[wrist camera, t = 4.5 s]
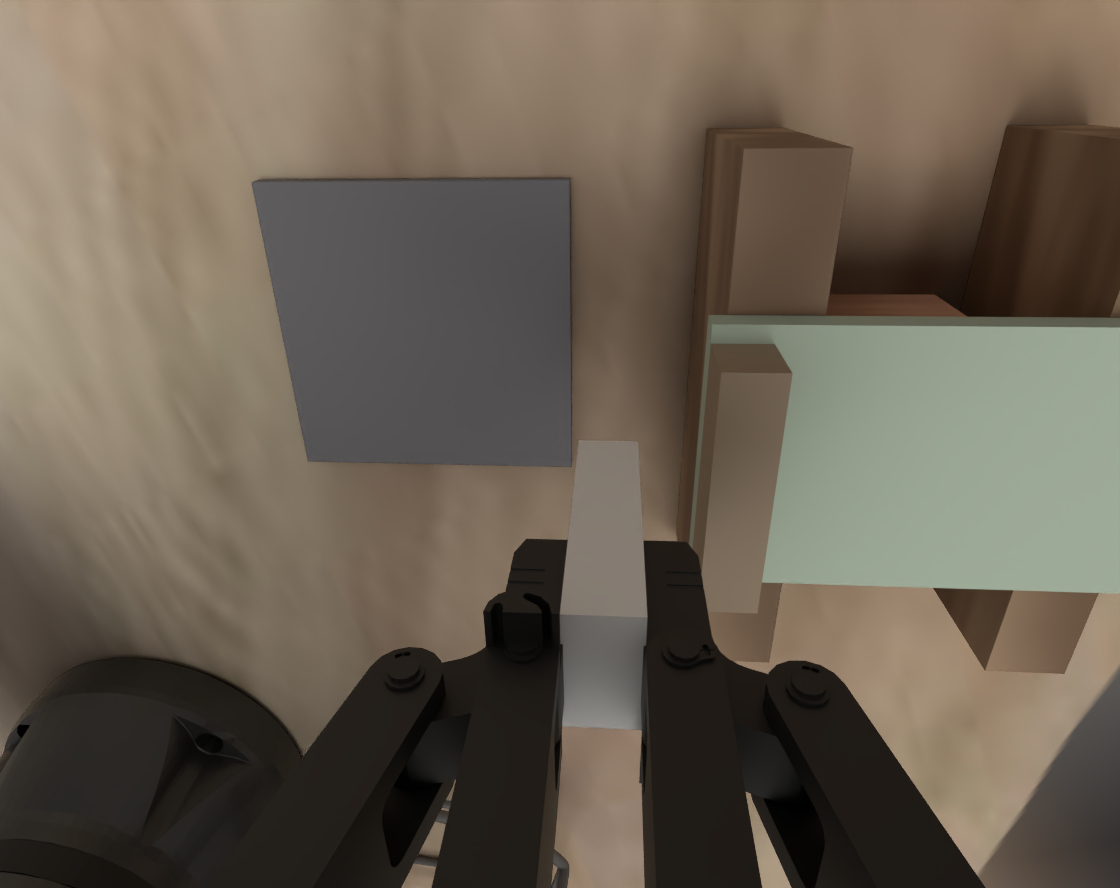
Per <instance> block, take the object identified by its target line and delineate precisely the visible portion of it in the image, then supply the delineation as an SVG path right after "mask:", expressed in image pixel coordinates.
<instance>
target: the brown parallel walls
mask: <svg viewBox="0 0 1120 888" xmlns="http://www.w3.org/2000/svg"><path fill="white" fill-rule="evenodd" d="M852 152H853V148H852V147H849V146H845V145H842V144H838V143H835V142H831V141H828V140H824V139H821V138H817V137H814V136H810V135H807V134H803V133H800V132H796V131H793V130H789V129H786V128H734V129H707V132H706V145H705V159H704V172H703V185H702V199H701V212H700V225H699V239H698V252H697V266H696V279H695V292H694V306H693V319H692V332H691V346H690V359H689V373H688V386H687V399H686V413H685V426H684V439H683V453H682V466H681V480H680V493H679V506H678V520H677V540H678V542H687V543H688V544H689V539H690V527H691V515H692V503H693V492H694V480H695V468H696V457H697V445H698V433H699V421H700V410H701V398H702V386H703V375H704V363H705V351H706V339H707V328H708V316H709V315H780V316H826V311H827V305H828V299H829V293H830V287H831V281H832V275H833V268H834V262H835V256H836V250H837V244H838V238H839V232H840V226H841V220H842V213H843V207H844V201H845V195H846V189H847V183H848V177H849V171H850V165H851V158H852ZM960 312H961V313H963V314H964V315H966V316H967V317H1075V318H1120V128H1117V127H1107V126H1096V125H1021V126H1007V128H1006V132H1005V136H1004V140H1003V144H1002V148H1001V152H1000V156H999V160H998V164H997V168H996V172H995V175H994V179H993V183H992V187H991V191H990V195H989V199H988V203H987V207H986V211H985V215H984V219H983V223H982V227H981V231H980V235H979V239H978V243H977V247H976V251H975V255H974V259H973V263H972V267H971V270H970V274H969V278H968V282H967V286H966V290H965V294H964V298H963V302H962V306H961V310H960ZM781 586H782V583H764V582H762V585H761V592H760V599H759V606H758V613H728V612H708V616H709V622H710V627H711V633H712V638H713V640H714V643H715V644H716V645H717V647H718V649H719V651H720V652H721V653H722V654H723V655H725V656H726V657H727V658H728V659H730V660H731V661H748V662H769V660H770V654H771V647H772V641H773V635H774V629H775V623H776V617H777V611H778V605H779V599H780V592H781ZM934 590H935V592H936V593H937V595H938V596H939V598H940V600H941V601H942V603H943V604H944V606H945V608H946V609H947V611H948V612H949V614H950V616H951V617H952V619H953V620H954V622H955V624H956V625H957V627H958V628H959V630H960V631H961V633H962V635H963V636H964V638H965V639H966V641H967V643H968V644H969V646H970V647H971V649H972V651H973V652H974V654H975V655H976V657H977V659H978V660H979V662H980V663H981V665H982V667H983V668H984V670H985V671H1006V672H1032V673H1058V674H1064V673H1065V671H1066V669H1067V666H1068V664H1069V662H1070V659H1071V657H1072V655H1073V652H1074V650H1075V648H1076V645H1077V643H1078V640H1079V638H1080V636H1081V633H1082V631H1083V629H1084V626H1085V624H1086V622H1087V619H1088V617H1089V615H1090V612H1091V610H1092V607H1093V605H1094V603H1095V600H1096V598H1097V596H1098V593H1083V592H1051V591H1019V590H987V589H955V588H934Z"/></svg>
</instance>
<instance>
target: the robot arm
mask: <svg viewBox="0 0 1120 888" xmlns="http://www.w3.org/2000/svg"><path fill="white" fill-rule="evenodd" d="M483 614H484V625H485V637H486V647H485V648H484V649H482V650H481V651H479V652H477V653H475V654H473V655H471V656H468V657H465V658H462V659H458V660H453V661H448V662H444V663H441V660H440V659H439V658H438V657H437V656H436V655H435V654H434V653H433V652H430V651H428V650H426V649H423V648H413V647H407V648H402V649H398V650H394V651H392V652H390V653H388V654H386V655H384V656H382V657H380V658H379V659H378V660H377V661H376V662H375V663H374V664H373V665H372V666H371V667H370V668H369V670H368V671H367V672H366V674H365V675H364V676H363V678H362V679H361V680H360V682H359V683H358V684H357V686H356V687H355V688H354V690H353V691H352V692H351V694H350V695H349V696H348V698H347V699H346V700H345V702H344V703H343V704H342V706H341V707H340V708H339V710H338V711H337V712H336V714H335V715H334V716H333V718H332V719H331V720H330V722H329V723H328V724H327V726H326V727H325V728H324V730H323V731H322V732H321V734H320V735H319V736H318V738H317V739H316V740H315V742H314V743H313V744H312V746H311V747H310V748H309V750H308V751H307V752H306V754H305V755H304V756H303V758H302V759H301V757H300V755H299V752H298V750H297V749H296V747H295V745H294V743H293V742H292V740H291V739H290V737H289V736H288V734H287V733H286V732H285V730H284V729H283V728H282V727H281V726H280V725H279V723H278V722H277V721H276V720H275V719H274V718H273V717H272V716H271V715H270V714H269V713H267V712H266V711H265V710H264V709H263V708H262V707H260V706H259V705H258V704H257V703H255V702H254V701H253V700H251V699H250V698H248V697H247V696H245V695H244V694H242V693H241V692H239V691H237V690H236V689H234V688H232V687H230V686H229V685H227V684H225V683H223V682H221V681H219V680H217V679H214V678H212V677H210V676H208V675H205V674H203V673H200V672H197V671H194V670H191V669H188V668H185V667H182V666H178V665H174V664H170V663H165V662H160V661H154V660H146V659H134V658H119V659H106V660H100V661H94V662H90V663H86V664H83V665H80V666H77V667H75V668H73V669H71V670H69V671H67V672H65V673H63V674H62V675H60V676H59V677H58V678H56V679H55V680H54V681H53V682H52V683H51V684H50V685H49V686H48V687H47V688H46V689H45V690H44V691H43V692H42V693H41V694H40V696H39V697H38V698H37V699H36V700H35V701H34V702H33V703H32V704H31V705H30V706H29V707H28V709H27V710H26V711H25V712H24V713H23V714H22V715H21V717H20V718H19V720H18V721H17V723H16V724H15V726H14V727H13V729H12V731H11V733H10V735H9V737H8V740H7V742H6V745H5V750H4V752H3V754H2V756H1V758H0V888H401V887H402V885H403V883H404V881H405V879H406V877H407V875H408V873H409V871H410V869H411V867H412V865H413V863H414V861H415V859H416V857H417V855H418V854H419V852H420V850H421V848H422V846H423V844H424V842H425V840H426V838H427V836H428V834H429V832H430V830H431V828H432V826H433V824H434V822H435V820H436V818H437V816H438V814H439V812H440V810H441V808H442V806H443V804H444V802H445V800H446V798H447V797H448V795H449V793H450V791H451V789H452V787H453V784H454V780H455V779H456V783H455V787H454V792H453V796H452V801H451V805H450V809H449V814H448V818H447V823H446V827H445V831H444V836H443V840H442V845H441V849H440V853H439V858H438V862H437V867H436V871H435V875H434V880H433V884H432V888H551V882H552V870H553V857H554V845H555V832H556V820H557V807H558V795H559V782H560V770H561V757H562V726H569V727H590V728H612V729H633V730H642V741H641V761H640V781H639V783H642V811H643V844H644V877H645V888H762V884H761V878H760V873H759V867H758V861H757V856H756V850H755V844H754V838H753V833H752V827H751V821H750V816H749V810H748V804H747V798H746V793H745V791H746V792H748V793H751V796H752V800H753V803H754V805H755V807H756V809H757V812H758V814H759V816H760V818H761V820H762V823H763V825H764V827H765V829H766V832H767V834H768V836H769V838H770V840H771V843H772V845H773V847H774V849H775V852H776V854H777V856H778V858H779V860H780V863H781V865H782V867H783V869H784V872H785V874H786V876H787V878H788V880H789V883H790V885H791V887H792V888H985V886H984V885H983V884H982V882H981V881H980V879H979V878H978V876H977V875H976V873H975V872H974V870H973V869H972V868H971V866H970V865H969V863H968V862H967V860H966V859H965V857H964V856H963V855H962V853H961V852H960V850H959V849H958V847H957V846H956V844H955V843H954V842H953V840H952V839H951V837H950V836H949V834H948V833H947V831H946V830H945V828H944V827H943V826H942V824H941V823H940V821H939V820H938V818H937V817H936V815H935V814H934V813H933V811H932V810H931V808H930V807H929V805H928V804H927V802H926V801H925V799H924V798H923V797H922V795H921V794H920V792H919V791H918V789H917V788H916V786H915V785H914V784H913V782H912V781H911V779H910V778H909V776H908V775H907V773H906V772H905V771H904V769H903V768H902V766H901V765H900V763H899V762H898V760H897V759H896V757H895V756H894V755H893V753H892V752H891V750H890V749H889V747H888V746H887V744H886V743H885V742H884V740H883V739H882V737H881V736H880V734H879V733H878V731H877V730H876V728H875V727H874V726H873V724H872V723H871V721H870V720H869V718H868V717H867V715H866V714H865V713H864V711H863V710H862V708H861V707H860V705H859V704H858V702H857V701H856V700H855V698H854V697H853V695H852V694H851V692H850V691H849V689H848V688H847V686H846V685H845V684H844V683H843V682H842V681H841V680H840V679H839V678H838V676H837V675H836V674H835V673H833V672H831V671H830V670H828V669H826V668H824V667H823V666H821V665H818V664H814V663H811V662H807V661H787V662H784V663H781V664H778V665H776V666H775V667H774V668H773V669H772V670H771V671H770V672H769V674H765V673H762V672H759V671H755V670H752V669H748V668H746V667H743V666H741V665H738V664H736V663H735V662H733V661H731V660H730V659H728V658H727V657H726V656H725V655H723V654H722V653H721V652H720V651H719V649H718V647H717V645H716V644H715V643H714V640H713V638H712V633H711V627H710V622H709V616H708V610H707V604H706V598H705V592H704V589H703V580H702V576H701V568H700V562H699V556H698V555H697V554H696V553H695V551H694V550H693V549H692V548H691V546H690V545H689V544H688V543H687V542H678V541H643V526H642V507H641V489H640V470H639V452H638V441H594V440H579V442H578V451H577V460H576V469H575V479H574V488H573V497H572V506H571V515H570V524H569V534H568V540H548V539H526V540H525V541H524V542H523V543H522V544H521V546H520V547H519V548H518V549H517V550H516V551H515V552H514V556H513V560H512V565H511V571H510V574H509V579H508V584H507V588H506V592H503V593H501V594H498V595H497V596H495V597H494V598H493V599H492V600H490V601H489V602H488V604H487V605H486V607H485V609H484V611H483Z"/></svg>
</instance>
